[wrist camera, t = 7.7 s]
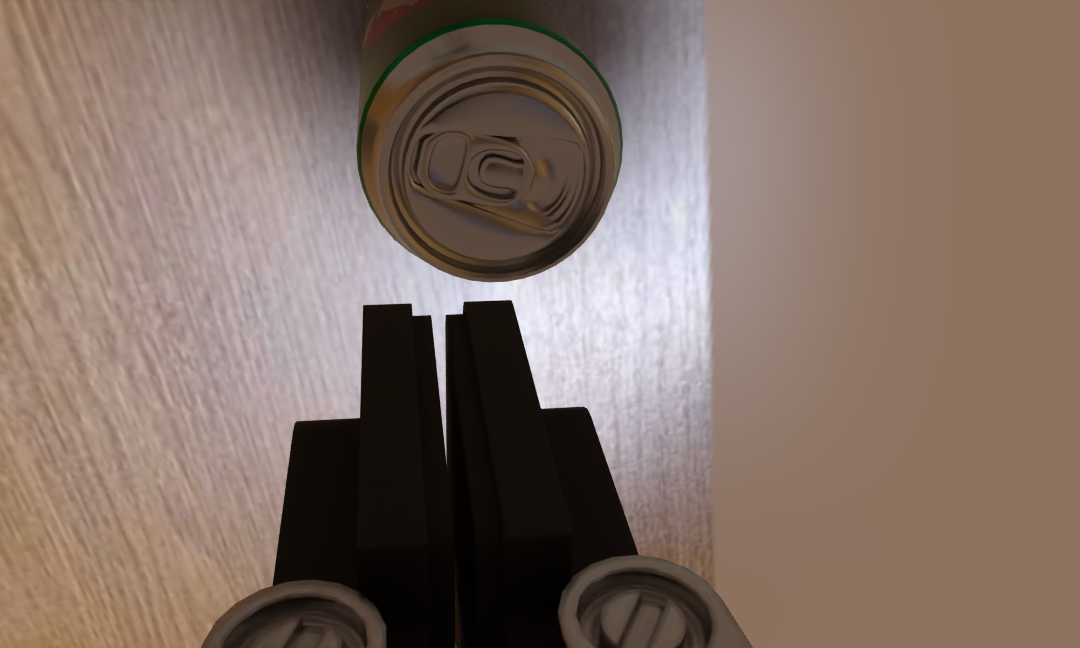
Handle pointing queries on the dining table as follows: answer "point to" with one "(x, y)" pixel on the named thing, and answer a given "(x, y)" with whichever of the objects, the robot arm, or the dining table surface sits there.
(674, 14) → the dining table surface
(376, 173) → the soda can
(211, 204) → the dining table surface
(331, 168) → the dining table surface
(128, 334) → the dining table surface
